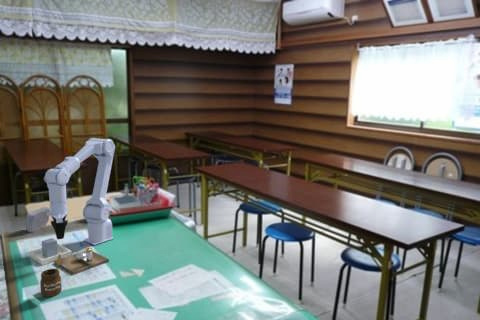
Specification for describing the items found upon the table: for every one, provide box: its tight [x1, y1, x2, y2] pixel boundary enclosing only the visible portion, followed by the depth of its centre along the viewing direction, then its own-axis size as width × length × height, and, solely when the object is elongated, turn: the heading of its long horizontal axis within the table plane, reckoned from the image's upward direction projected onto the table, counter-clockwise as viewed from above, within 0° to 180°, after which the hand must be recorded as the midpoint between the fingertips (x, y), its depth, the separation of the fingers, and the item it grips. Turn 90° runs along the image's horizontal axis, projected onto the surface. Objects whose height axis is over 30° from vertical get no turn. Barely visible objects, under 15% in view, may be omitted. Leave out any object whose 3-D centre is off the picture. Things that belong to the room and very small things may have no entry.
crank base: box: [53, 249, 110, 275], centre depth 140 cm, size 14×14×1 cm
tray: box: [28, 243, 73, 266], centre depth 144 cm, size 11×11×2 cm
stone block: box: [25, 206, 50, 233], centre depth 171 cm, size 12×5×10 cm, turn 168°
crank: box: [75, 247, 93, 264], centre depth 138 cm, size 8×4×6 cm, turn 52°
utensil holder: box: [38, 254, 62, 298], centre depth 117 cm, size 6×6×12 cm
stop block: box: [41, 237, 58, 258], centre depth 144 cm, size 4×4×6 cm
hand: (60, 235), depth 140 cm, fingers open, 7 cm apart
